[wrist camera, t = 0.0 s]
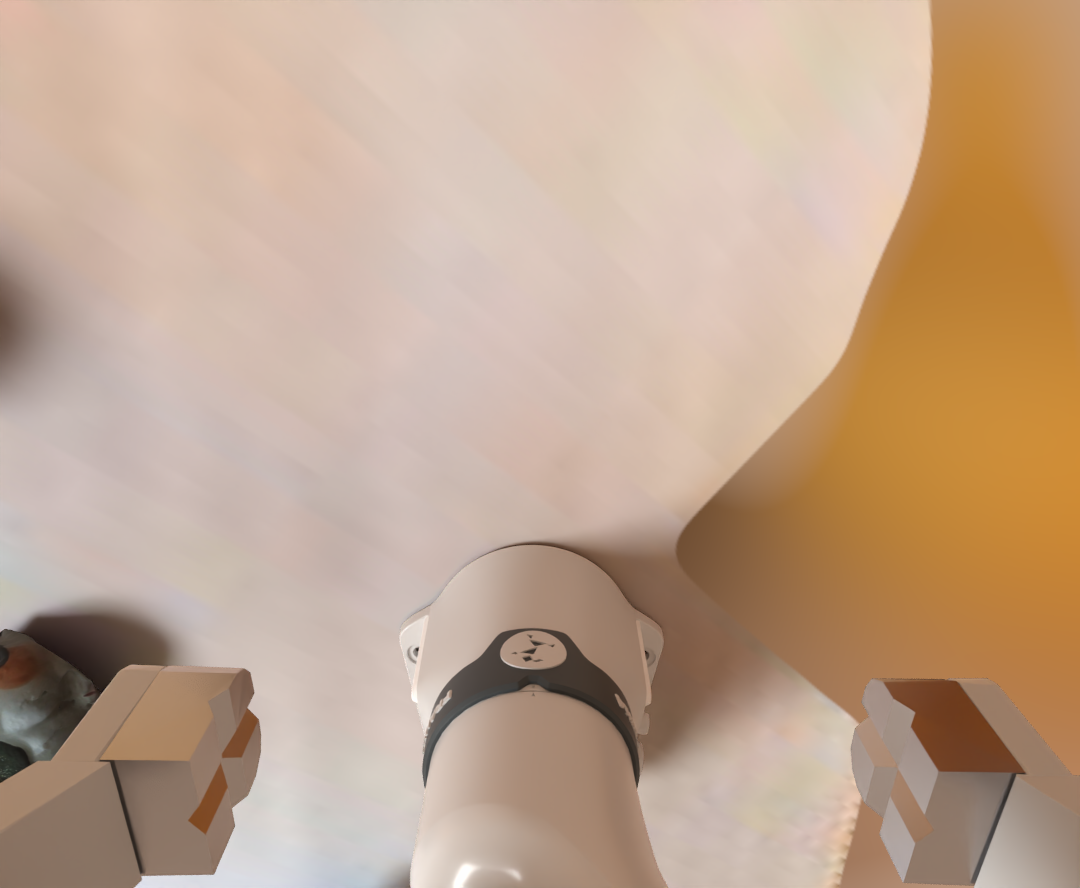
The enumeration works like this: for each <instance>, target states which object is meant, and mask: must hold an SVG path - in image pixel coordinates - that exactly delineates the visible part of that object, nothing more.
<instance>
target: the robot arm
mask: <svg viewBox="0 0 1080 888" xmlns="http://www.w3.org/2000/svg"><path fill="white" fill-rule="evenodd" d="M399 641H400V646H401V650H402V653H403V657H404V661H405V665H406V668H407V672H408V676H409V680H410V683H411V687H412V700H413V701H414V702H416V706H417V710H418V714H419V717H420V721H421V725H422V729H423V732H424V736H425V738H424V744H423V754H424V758H423V770H422V773H423V780H424V786H425V794H424V799H423V804H422V810H421V815H420V820H419V826H418V831H417V837H416V842H415V847H414V853H413V858H412V865H411V870H410V888H668V886H667V884H666V882H665V881H664V879H663V877H662V875H661V873H660V871H659V868H658V865H657V863H656V860H655V857H654V853H653V850H652V846H651V843H650V840H649V836H648V833H647V829H646V825H645V821H644V818H643V814H642V810H641V806H640V801H639V797H638V792H637V787H638V782H639V776H640V775H641V772H642V768H643V762H644V749H643V744H642V743H640V742H639V741H638V735H637V734H640V735H642V734H643V735H647V733H648V731H649V725H650V717H649V714H648V713H644V711H645V706H648V705H650V704H651V685H652V681H653V678H654V675H655V672H656V669H657V665H658V662H659V659H660V656H661V653H662V649H663V645H664V638H663V631H662V629H661V628H660V626H659V625H658V624H657V623H656V622H654V621H653V620H652V619H650V618H649V617H647V616H646V615H644V614H642V613H641V612H639V611H637V610H636V609H634V608H633V607H632V606H631V605H630V604H629V602H628V601H627V600H626V598H625V597H624V595H623V594H622V592H621V591H620V589H619V588H618V586H617V585H616V584H615V583H614V581H613V580H612V579H611V578H610V577H609V576H608V575H607V574H606V573H605V572H604V571H603V570H602V569H600V568H599V567H598V566H597V565H595V564H594V563H592V562H591V561H589V560H587V559H586V558H584V557H582V556H580V555H578V554H575V553H573V552H570V551H567V550H564V549H560V548H556V547H550V546H543V545H521V546H514V547H508V548H504V549H500V550H497V551H494V552H491V553H489V554H486V555H484V556H482V557H480V558H478V559H476V560H475V561H473V562H472V563H470V564H469V565H467V566H466V567H465V568H463V569H462V570H461V571H460V572H459V573H458V574H457V575H456V576H455V577H454V578H453V579H452V580H451V581H450V582H449V583H448V585H447V586H446V587H445V589H444V590H443V592H442V593H441V594H440V596H439V597H438V598H437V599H436V600H435V602H433V603H432V604H431V605H430V606H428V607H426V608H424V609H423V610H421V611H419V612H417V613H416V614H414V615H413V616H411V617H410V618H408V619H407V620H406V621H405V622H404V623H403V624H402V626H401V629H400V636H399ZM417 647H419V651H417V650H416V649H415V648H417ZM645 651H647V653H646V654H645ZM253 695H254V688H253V683H252V678H251V674H250V672H249V671H247V670H246V669H244V668H223V667H197V666H172V665H169V666H154V665H129V666H127V667H125V668H123V669H121V670H120V671H119V672H118V673H117V674H116V676H115V677H114V678H113V680H112V681H111V682H110V684H109V685H108V686H107V688H106V689H105V690H104V692H103V693H102V694H101V695H100V697H99V698H98V699H97V701H96V702H95V703H94V705H93V706H92V707H91V709H90V710H89V711H88V713H87V714H86V715H85V716H84V718H83V719H82V720H81V722H80V723H79V724H78V726H77V727H76V728H75V730H74V731H73V732H72V734H71V735H70V736H69V738H68V739H67V740H66V741H65V743H64V744H63V745H62V747H61V748H60V749H59V751H58V752H57V753H56V755H55V756H54V757H53V759H52V760H51V761H37V762H35V763H34V764H32V765H30V766H28V767H27V768H25V769H23V770H22V771H20V772H18V773H17V774H15V775H13V776H11V777H10V778H8V779H6V780H5V781H3V782H1V783H0V888H134V887H135V886H136V885H137V884H138V883H139V882H140V881H141V880H142V878H141V876H157V875H213V874H214V873H215V871H216V869H217V866H218V864H219V862H220V859H221V857H222V855H223V853H224V850H225V848H226V846H227V843H228V841H229V839H230V836H231V834H232V832H233V829H234V827H235V823H234V818H233V812H232V808H233V807H234V806H235V805H236V804H238V803H239V802H240V801H241V800H243V799H244V798H245V797H246V796H248V794H249V792H250V789H251V787H252V784H253V782H254V779H255V777H256V773H257V768H258V763H259V758H260V753H261V731H260V724H259V719H258V718H257V717H256V716H255V715H254V714H253V713H252V712H251V711H250V710H249V709H248V708H247V707H248V705H249V703H250V701H251V699H252V697H253ZM862 704H863V706H864V708H865V709H866V711H867V713H868V715H869V716H868V717H867V718H866V719H865V720H864V721H863V722H862V723H861V724H859V725H858V726H857V727H856V728H855V731H854V735H853V740H852V745H851V758H852V770H853V774H854V778H855V781H856V785H857V788H858V790H859V792H860V794H861V796H862V799H863V801H864V803H865V804H866V805H867V806H868V807H870V808H871V809H872V810H874V811H875V812H876V813H877V814H879V815H880V816H881V817H882V818H884V820H883V824H882V827H881V831H880V836H881V838H882V840H883V842H884V844H885V847H886V849H887V851H888V853H889V854H890V856H891V859H892V861H893V863H894V865H895V867H896V869H897V871H898V873H899V875H900V877H901V879H902V881H903V883H918V884H943V885H968V886H974V888H1080V776H1077V775H1072V774H1071V773H1070V771H1069V770H1068V769H1067V768H1066V767H1065V765H1064V764H1063V763H1062V762H1061V761H1060V759H1059V758H1058V757H1057V756H1056V755H1055V753H1054V752H1053V751H1052V750H1051V748H1050V747H1049V746H1048V745H1047V744H1046V742H1045V741H1044V740H1043V739H1042V737H1041V736H1040V735H1039V734H1038V733H1037V731H1036V730H1035V729H1034V728H1033V727H1032V725H1031V724H1030V723H1029V722H1028V720H1027V719H1026V718H1025V717H1024V716H1023V714H1022V713H1021V712H1020V711H1019V710H1018V708H1017V707H1016V706H1015V705H1014V703H1013V702H1012V701H1011V700H1010V699H1009V698H1008V696H1007V695H1006V694H1005V693H1004V692H1003V690H1002V689H1001V688H1000V686H999V685H998V684H996V683H995V682H993V681H991V680H989V679H988V678H951V679H950V678H949V679H947V680H945V679H871V681H870V682H869V683H868V685H867V686H866V688H865V692H864V695H863V699H862Z"/></svg>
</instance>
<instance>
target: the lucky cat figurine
mask: <svg viewBox="0 0 1080 888" xmlns="http://www.w3.org/2000/svg"><path fill="white" fill-rule="evenodd" d="M100 695H101V694H100V693H99V692H98V690H97V689H96V688H95V687H94V684H93V682H92V680H89V679H88V678H87V677H86V676H85V675H84V674H83V673H82V672H81V671H80V670H78V669H77V668H76V667H74V666H73V665H71V664H70V663H68V662H66V661H65V660H63V659H62V658H60V657H59V656H57V655H56V654H54V653H53V652H51V651H49V650H48V649H46V648H44V647H43V646H41V645H39V644H38V643H36V642H35V641H34V639H33V638H31V637H29V636H28V635H25V634H22V633H19V632H15V631H13V630H8V629H5V630H3V631H1V632H0V783H1V782H3V781H5V780H6V779H8V778H10V777H11V776H13V775H15V774H17V773H18V772H20V771H22V770H23V769H25V768H27V767H28V766H30V765H32V764H34V763H35V762H37V761H51V760H52V759H53V757H54V756H55V755H56V753H57V752H58V751H59V749H60V748H61V747H62V745H63V744H64V743H65V741H66V740H67V739H68V738H69V736H70V735H71V734H72V732H73V731H74V730H75V728H76V727H77V726H78V724H79V723H80V722H81V720H82V719H83V718H84V716H85V715H86V714H87V713H88V711H89V710H90V709H91V707H92V706H93V705H94V703H95V702H96V701H97V699H98V698H99V697H100Z"/></svg>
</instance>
